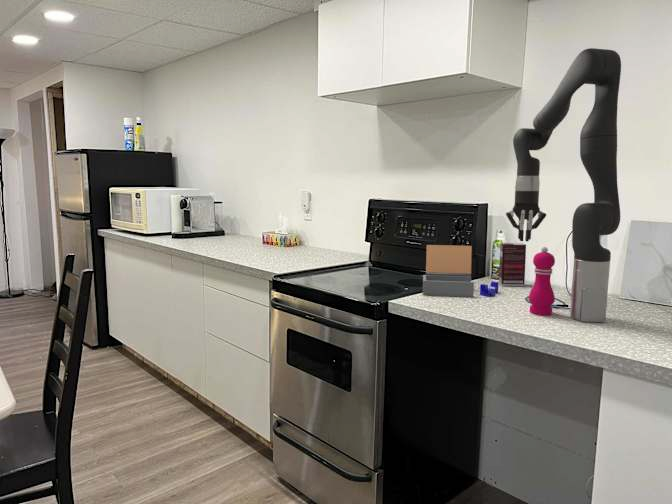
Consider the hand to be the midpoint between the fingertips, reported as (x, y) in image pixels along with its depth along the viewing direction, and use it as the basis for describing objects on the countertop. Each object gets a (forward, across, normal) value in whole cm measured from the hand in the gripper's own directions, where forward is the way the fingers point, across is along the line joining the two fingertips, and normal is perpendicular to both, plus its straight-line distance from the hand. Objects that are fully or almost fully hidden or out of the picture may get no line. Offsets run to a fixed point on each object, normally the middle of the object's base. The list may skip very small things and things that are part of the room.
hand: (524, 240), depth 171 cm
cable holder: (+19, -10, 0) cm, 22 cm away
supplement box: (+19, 0, +18) cm, 26 cm away
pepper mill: (+19, +2, -22) cm, 30 cm away
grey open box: (+19, -24, 0) cm, 31 cm away
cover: (+8, -25, +7) cm, 27 cm away
